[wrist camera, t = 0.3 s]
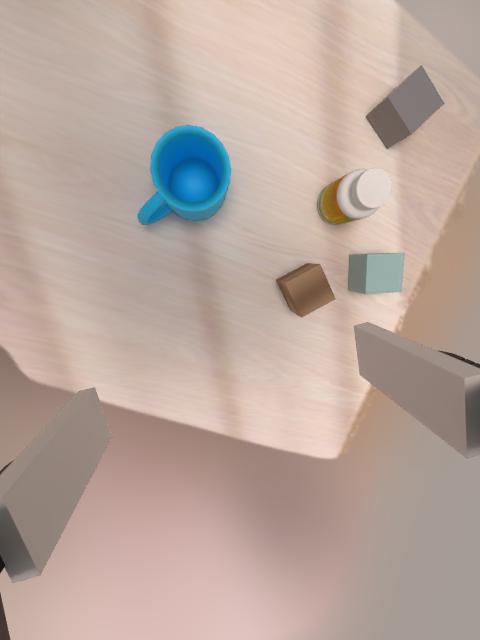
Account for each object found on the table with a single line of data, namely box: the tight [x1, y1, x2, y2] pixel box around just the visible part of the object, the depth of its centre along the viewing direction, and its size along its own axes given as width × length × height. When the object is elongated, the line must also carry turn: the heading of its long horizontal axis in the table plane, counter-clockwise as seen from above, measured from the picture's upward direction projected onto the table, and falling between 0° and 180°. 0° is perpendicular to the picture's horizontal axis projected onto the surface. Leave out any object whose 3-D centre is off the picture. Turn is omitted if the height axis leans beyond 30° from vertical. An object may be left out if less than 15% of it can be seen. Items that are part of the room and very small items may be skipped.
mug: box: [138, 125, 231, 225], centre depth 34 cm, size 12×8×8 cm
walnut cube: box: [276, 263, 335, 317], centre depth 40 cm, size 5×5×5 cm
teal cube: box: [348, 253, 405, 294], centre depth 41 cm, size 5×5×5 cm
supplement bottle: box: [318, 168, 392, 225], centre depth 36 cm, size 5×5×10 cm
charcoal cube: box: [366, 65, 444, 148], centre depth 37 cm, size 5×5×5 cm
